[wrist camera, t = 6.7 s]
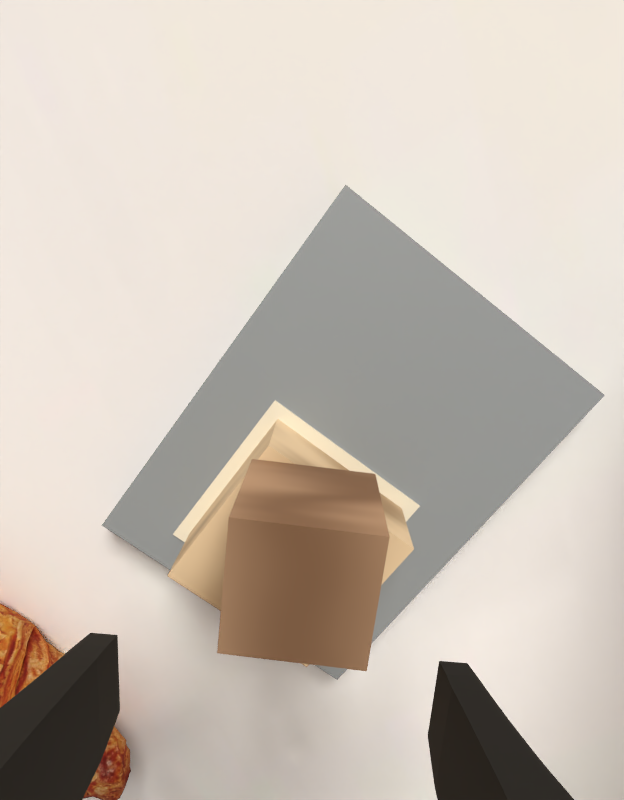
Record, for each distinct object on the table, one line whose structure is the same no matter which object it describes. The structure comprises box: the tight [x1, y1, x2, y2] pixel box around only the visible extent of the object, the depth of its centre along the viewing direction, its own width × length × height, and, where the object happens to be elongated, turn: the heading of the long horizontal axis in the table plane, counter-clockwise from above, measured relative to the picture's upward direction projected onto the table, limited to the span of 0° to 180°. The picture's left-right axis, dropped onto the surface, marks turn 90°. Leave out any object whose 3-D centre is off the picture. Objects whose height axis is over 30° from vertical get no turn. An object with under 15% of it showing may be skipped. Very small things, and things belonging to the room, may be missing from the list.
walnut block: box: [217, 459, 390, 671], centre depth 15 cm, size 4×4×4 cm
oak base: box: [168, 419, 414, 667], centre depth 19 cm, size 6×6×3 cm
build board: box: [102, 185, 604, 679], centre depth 20 cm, size 12×16×1 cm
